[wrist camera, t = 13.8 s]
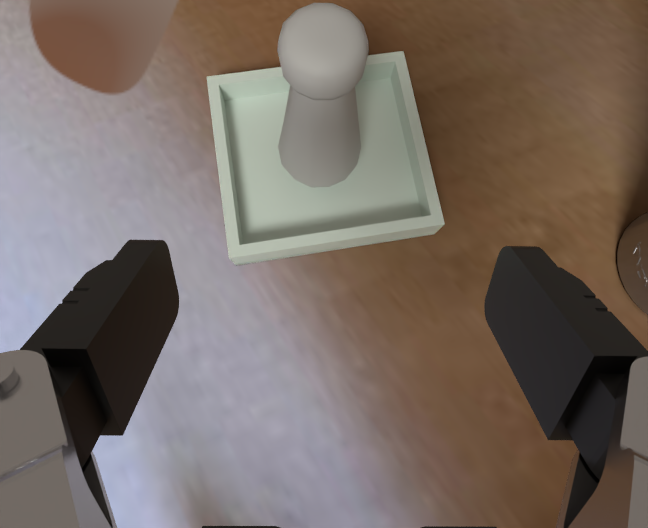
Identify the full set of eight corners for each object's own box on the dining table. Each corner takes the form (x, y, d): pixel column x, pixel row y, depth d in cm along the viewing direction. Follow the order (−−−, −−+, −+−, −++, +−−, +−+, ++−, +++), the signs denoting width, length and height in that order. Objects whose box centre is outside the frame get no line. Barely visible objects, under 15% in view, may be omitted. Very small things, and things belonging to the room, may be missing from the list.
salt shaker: (280, 198, 30) (255, 87, 17) (281, 128, 31) (258, -24, 18) (358, 198, 30) (390, 88, 17) (356, 128, 31) (385, -22, 19)
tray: (396, 72, 33) (403, 50, 31) (434, 234, 30) (444, 224, 28) (214, 97, 32) (206, 76, 30) (236, 265, 29) (229, 258, 27)
